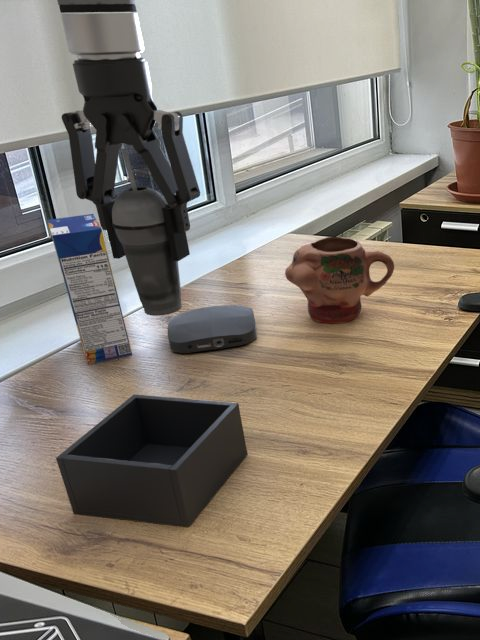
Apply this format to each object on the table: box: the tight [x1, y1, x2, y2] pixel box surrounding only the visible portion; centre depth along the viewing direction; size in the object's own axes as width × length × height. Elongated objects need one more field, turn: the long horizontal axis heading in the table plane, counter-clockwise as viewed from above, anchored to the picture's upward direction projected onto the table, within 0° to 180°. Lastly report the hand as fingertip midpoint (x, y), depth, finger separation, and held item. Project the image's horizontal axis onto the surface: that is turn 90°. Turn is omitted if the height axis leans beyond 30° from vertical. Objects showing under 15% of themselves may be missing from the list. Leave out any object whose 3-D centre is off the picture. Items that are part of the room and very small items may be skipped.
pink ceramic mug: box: [284, 235, 395, 324], centre depth 132 cm, size 20×12×14 cm, turn 103°
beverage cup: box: [112, 147, 183, 317], centre depth 86 cm, size 7×7×20 cm
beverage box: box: [46, 213, 133, 365], centre depth 118 cm, size 7×11×22 cm, turn 32°
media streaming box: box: [167, 304, 257, 354], centre depth 126 cm, size 15×15×3 cm
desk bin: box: [55, 394, 248, 528], centre depth 85 cm, size 15×15×8 cm
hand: (151, 256), depth 88 cm, fingers closed on beverage cup, 7 cm apart
